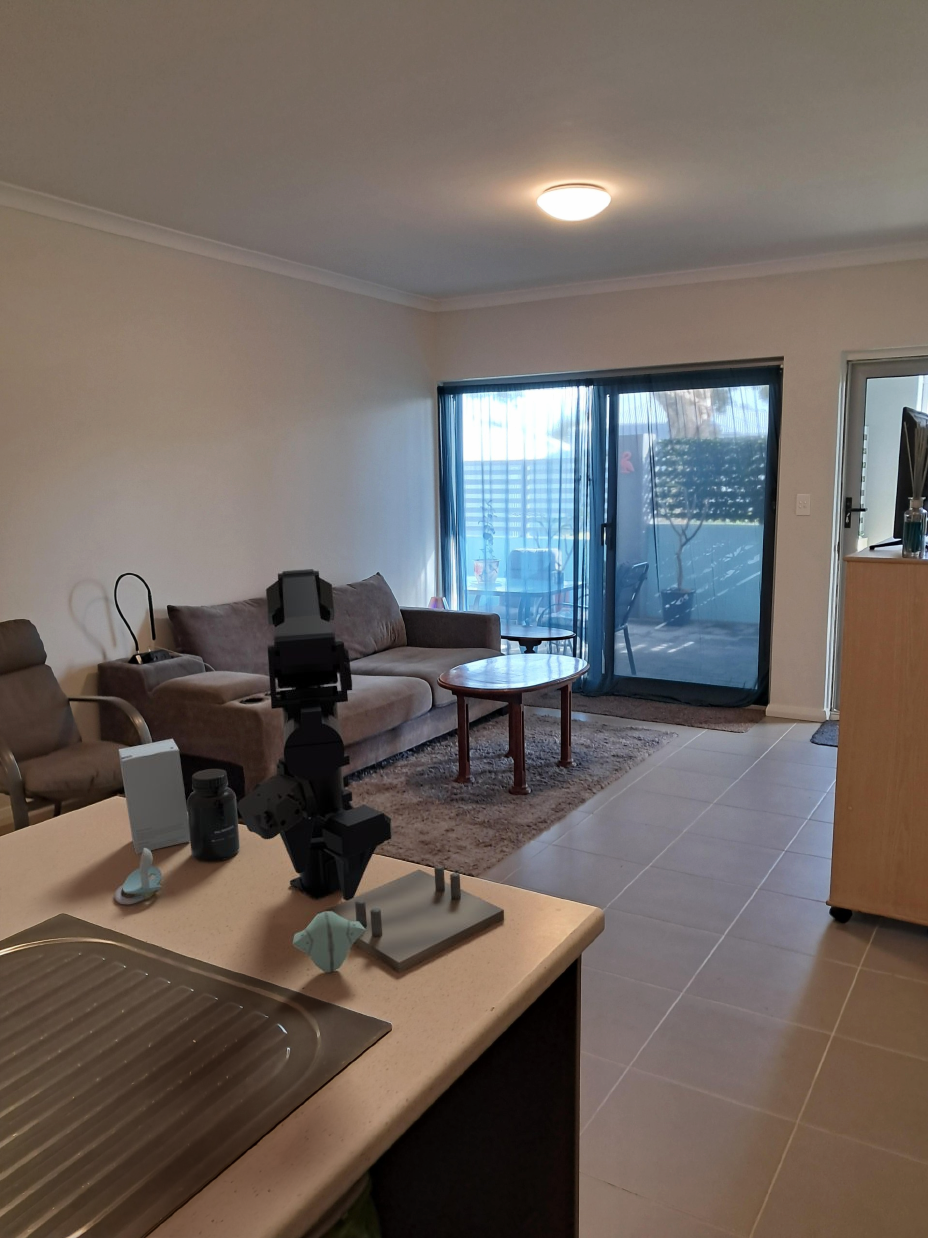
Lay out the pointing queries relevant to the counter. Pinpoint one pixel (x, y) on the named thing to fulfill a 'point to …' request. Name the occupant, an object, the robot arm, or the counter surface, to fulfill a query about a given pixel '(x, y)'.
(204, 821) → the supplement bottle
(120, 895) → the pacifier
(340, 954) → the grey-green curved shell
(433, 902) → the pin tray
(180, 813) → the skincare box
